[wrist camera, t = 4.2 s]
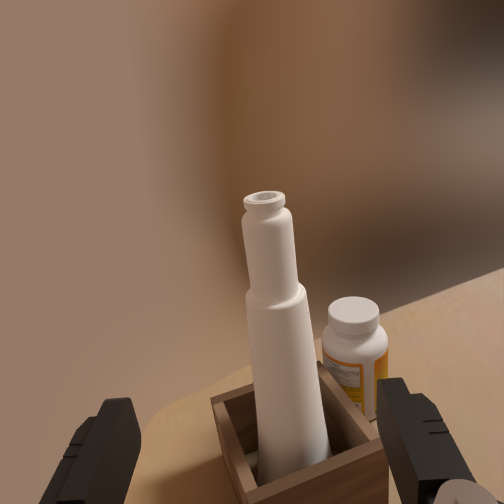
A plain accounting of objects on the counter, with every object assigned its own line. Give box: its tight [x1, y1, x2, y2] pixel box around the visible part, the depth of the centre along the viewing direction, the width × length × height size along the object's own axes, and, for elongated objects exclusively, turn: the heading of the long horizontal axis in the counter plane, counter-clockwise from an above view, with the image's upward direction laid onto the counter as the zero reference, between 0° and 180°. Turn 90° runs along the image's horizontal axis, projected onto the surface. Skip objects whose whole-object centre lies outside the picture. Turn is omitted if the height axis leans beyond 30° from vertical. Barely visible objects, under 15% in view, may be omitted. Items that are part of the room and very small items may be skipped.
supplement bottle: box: [322, 297, 388, 421], centre depth 35 cm, size 5×5×10 cm
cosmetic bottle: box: [242, 191, 333, 487], centre depth 27 cm, size 6×6×22 cm
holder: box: [210, 361, 389, 504], centre depth 30 cm, size 9×9×6 cm
